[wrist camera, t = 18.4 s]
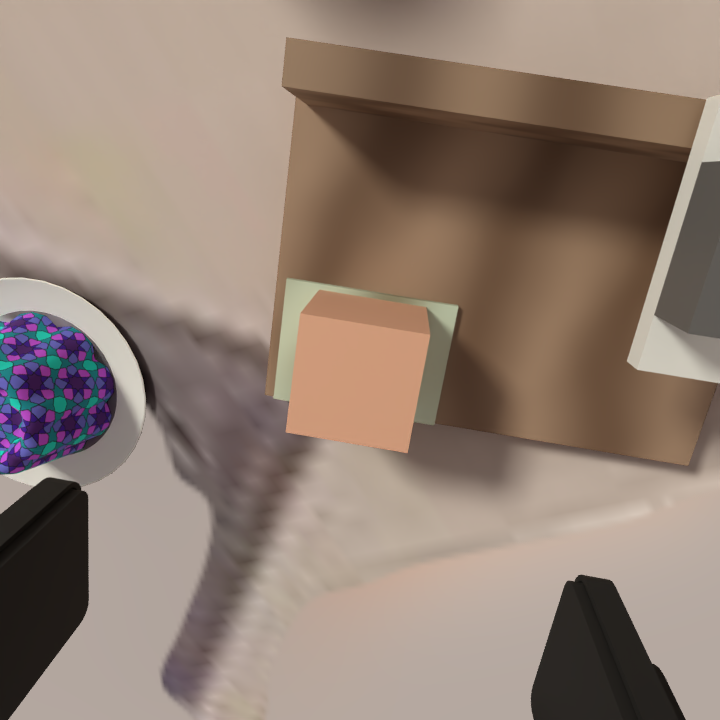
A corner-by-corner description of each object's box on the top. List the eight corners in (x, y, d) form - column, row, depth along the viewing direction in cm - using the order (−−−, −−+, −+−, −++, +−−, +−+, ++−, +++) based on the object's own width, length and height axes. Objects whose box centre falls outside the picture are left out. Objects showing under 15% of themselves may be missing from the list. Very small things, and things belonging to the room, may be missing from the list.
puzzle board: (782, 142, 25) (910, 129, 19) (674, 452, 30) (747, 526, 23) (305, 70, 26) (271, 35, 19) (271, 384, 30) (235, 439, 24)
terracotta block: (426, 307, 27) (430, 335, 22) (407, 406, 28) (407, 452, 23) (319, 289, 27) (300, 313, 22) (306, 389, 28) (285, 432, 24)
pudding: (40, 227, 29) (-35, 237, 24) (196, 409, 32) (156, 452, 27) (-105, 360, 32) (-200, 393, 27) (48, 518, 34) (-13, 575, 29)
